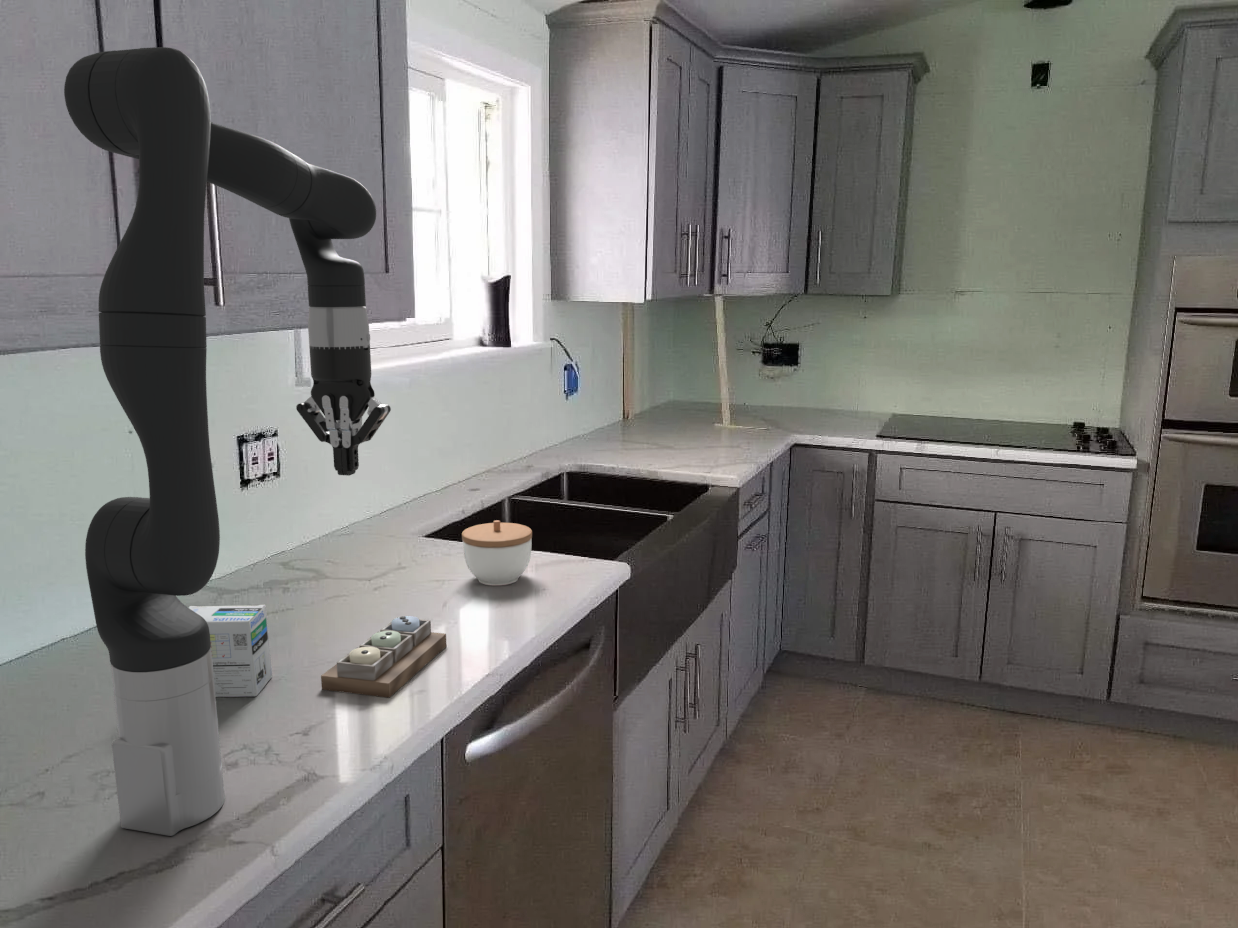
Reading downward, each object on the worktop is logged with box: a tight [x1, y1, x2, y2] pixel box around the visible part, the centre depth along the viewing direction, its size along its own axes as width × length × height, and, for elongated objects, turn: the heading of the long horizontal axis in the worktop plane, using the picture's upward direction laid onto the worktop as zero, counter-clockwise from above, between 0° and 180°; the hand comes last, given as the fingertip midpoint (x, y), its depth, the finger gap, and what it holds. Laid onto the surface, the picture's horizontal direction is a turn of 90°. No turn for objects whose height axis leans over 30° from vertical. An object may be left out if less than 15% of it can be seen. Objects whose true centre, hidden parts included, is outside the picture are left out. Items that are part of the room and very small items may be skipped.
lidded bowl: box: [461, 519, 533, 587], centre depth 172 cm, size 13×13×11 cm
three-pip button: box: [391, 615, 420, 632], centre depth 140 cm, size 4×4×3 cm
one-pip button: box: [349, 647, 380, 665], centre depth 129 cm, size 4×4×3 cm
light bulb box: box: [187, 604, 273, 698], centre depth 127 cm, size 11×7×11 cm, turn 92°
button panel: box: [320, 616, 447, 699], centre depth 135 cm, size 18×10×4 cm, turn 166°
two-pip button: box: [371, 631, 401, 648], centre depth 134 cm, size 4×4×3 cm
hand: (347, 474), depth 125 cm, fingers closed
